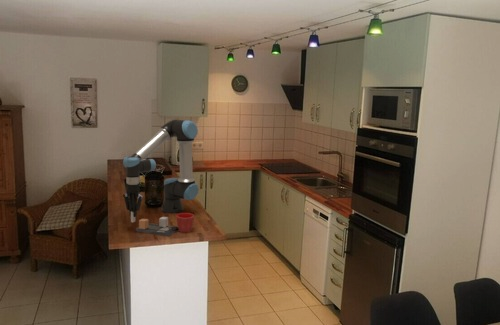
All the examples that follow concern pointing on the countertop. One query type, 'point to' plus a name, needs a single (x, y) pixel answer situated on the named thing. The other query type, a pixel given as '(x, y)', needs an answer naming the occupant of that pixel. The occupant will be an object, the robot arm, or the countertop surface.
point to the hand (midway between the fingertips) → (133, 221)
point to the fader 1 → (143, 223)
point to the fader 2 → (163, 221)
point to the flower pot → (185, 222)
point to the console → (158, 229)
